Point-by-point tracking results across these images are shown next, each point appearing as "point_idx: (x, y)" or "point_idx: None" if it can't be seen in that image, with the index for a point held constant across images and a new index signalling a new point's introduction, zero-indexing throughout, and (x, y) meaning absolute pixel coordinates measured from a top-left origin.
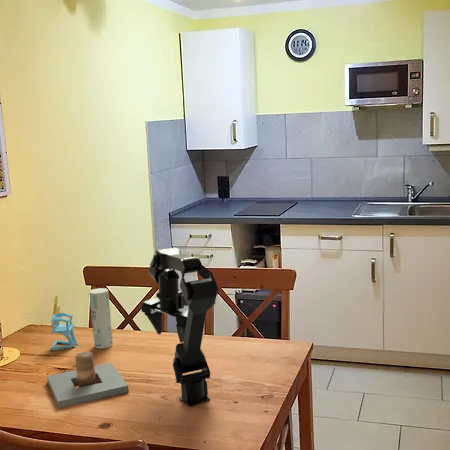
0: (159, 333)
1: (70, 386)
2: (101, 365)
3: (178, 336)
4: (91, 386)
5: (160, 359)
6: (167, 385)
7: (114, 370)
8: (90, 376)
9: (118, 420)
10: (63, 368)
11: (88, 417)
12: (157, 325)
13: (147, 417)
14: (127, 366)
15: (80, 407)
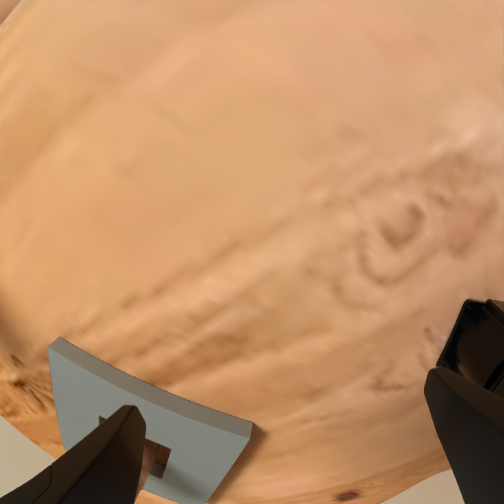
0: (142, 425)
1: None
2: (56, 374)
3: (447, 457)
4: (176, 467)
5: (86, 175)
6: (328, 331)
7: (108, 386)
8: (148, 471)
9: (358, 482)
10: (19, 382)
11: (289, 499)
12: (119, 501)
13: (410, 451)
14: (69, 300)
15: (233, 490)
